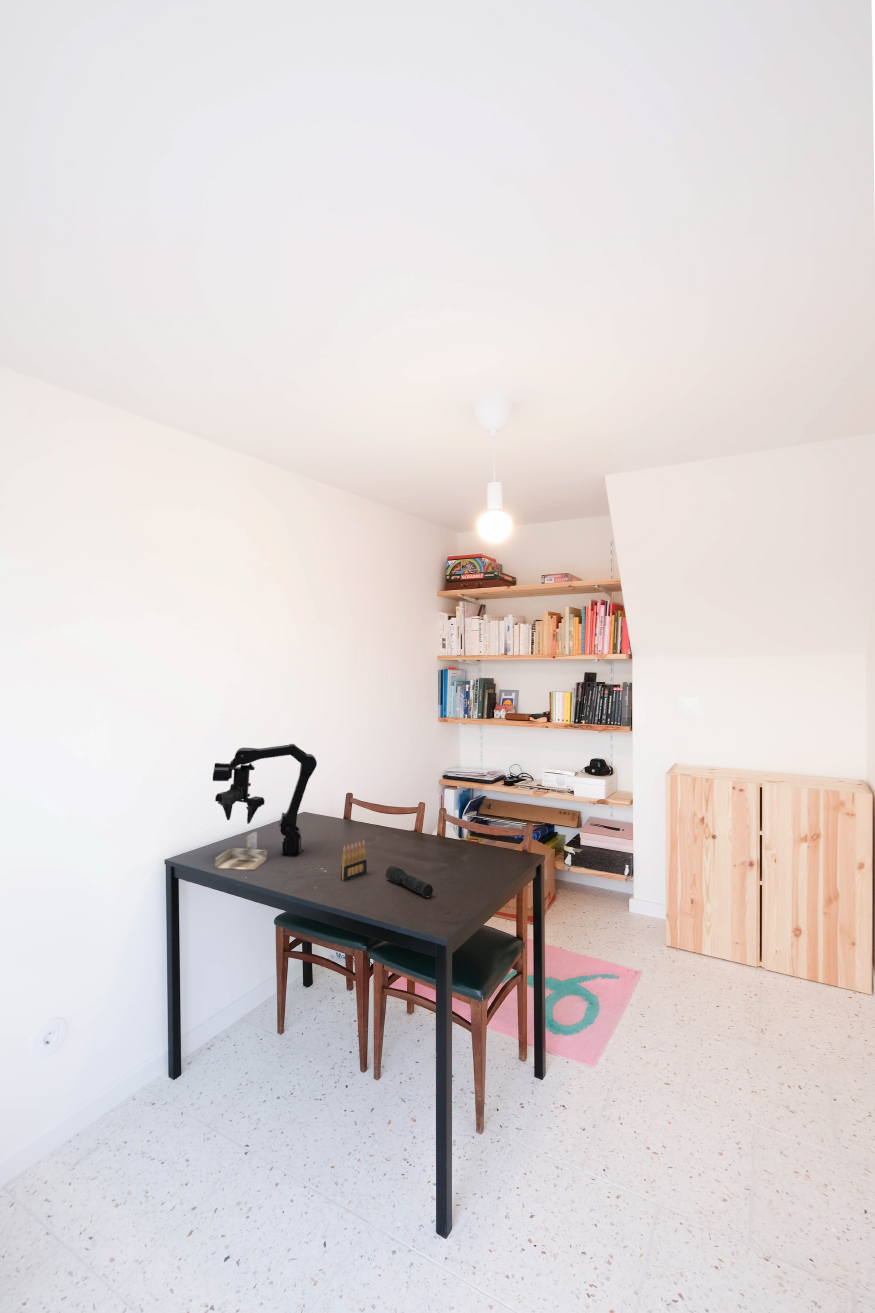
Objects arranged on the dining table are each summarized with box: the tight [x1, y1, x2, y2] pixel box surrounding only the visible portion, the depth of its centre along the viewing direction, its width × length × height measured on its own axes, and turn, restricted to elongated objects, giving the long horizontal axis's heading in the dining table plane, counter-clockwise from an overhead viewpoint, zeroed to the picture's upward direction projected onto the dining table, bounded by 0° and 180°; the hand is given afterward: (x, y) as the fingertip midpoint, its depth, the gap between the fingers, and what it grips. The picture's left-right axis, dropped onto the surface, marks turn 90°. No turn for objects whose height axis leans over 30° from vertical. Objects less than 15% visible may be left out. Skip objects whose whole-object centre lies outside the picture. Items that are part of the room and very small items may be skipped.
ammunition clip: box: [340, 839, 368, 882], centre depth 208 cm, size 11×2×12 cm, turn 139°
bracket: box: [240, 831, 258, 850], centre depth 229 cm, size 6×6×8 cm
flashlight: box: [385, 865, 434, 898], centre depth 198 cm, size 5×21×5 cm, turn 40°
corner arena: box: [214, 847, 268, 871], centre depth 219 cm, size 15×12×4 cm
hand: (238, 821), depth 225 cm, fingers open, 9 cm apart
